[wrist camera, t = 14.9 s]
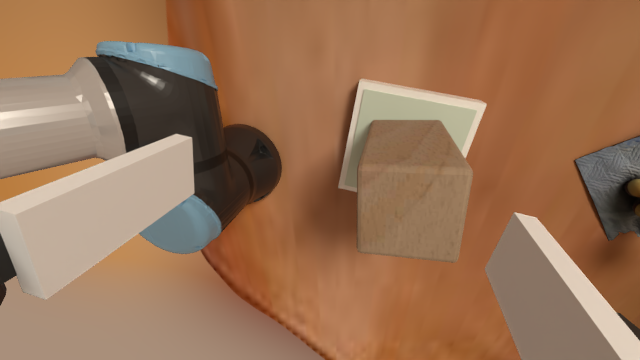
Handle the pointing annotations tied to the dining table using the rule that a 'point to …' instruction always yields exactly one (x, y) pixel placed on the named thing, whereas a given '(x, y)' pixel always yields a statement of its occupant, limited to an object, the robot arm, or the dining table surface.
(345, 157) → the picture frame
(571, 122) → the dining table surface
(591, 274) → the dining table surface
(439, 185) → the wooden block
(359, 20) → the dining table surface
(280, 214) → the dining table surface
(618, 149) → the stuffed giraffe
